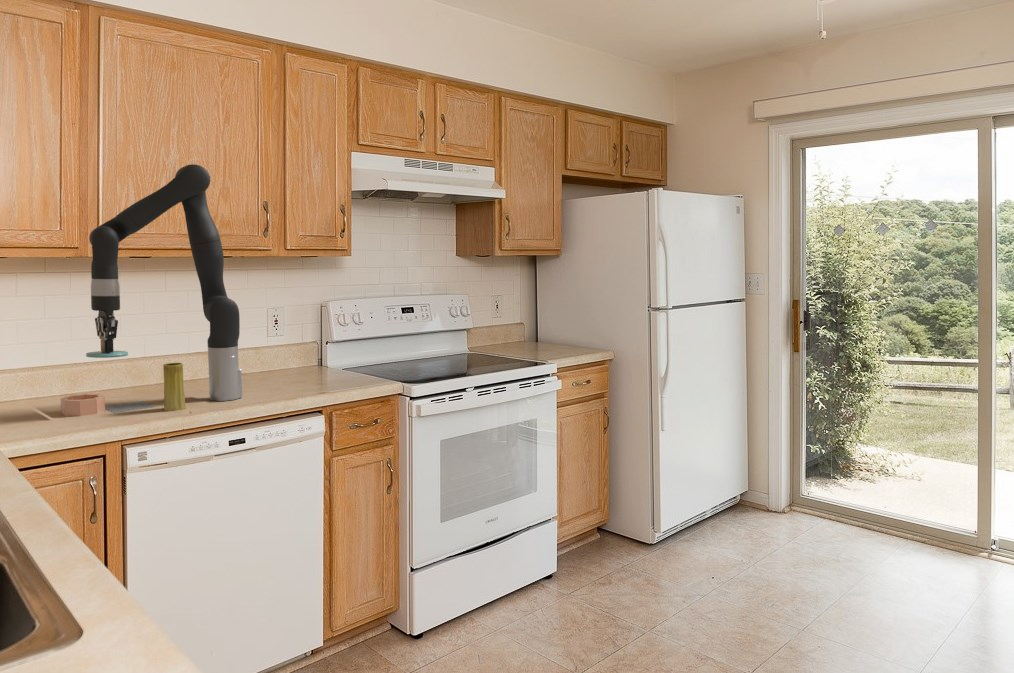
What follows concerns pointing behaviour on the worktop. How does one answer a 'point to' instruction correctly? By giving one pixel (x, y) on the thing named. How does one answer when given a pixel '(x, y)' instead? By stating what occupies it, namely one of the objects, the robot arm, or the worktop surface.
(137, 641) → the worktop surface
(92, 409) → the bowl
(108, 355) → the lid
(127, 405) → the mat
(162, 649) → the worktop surface
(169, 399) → the vase
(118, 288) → the robot arm
